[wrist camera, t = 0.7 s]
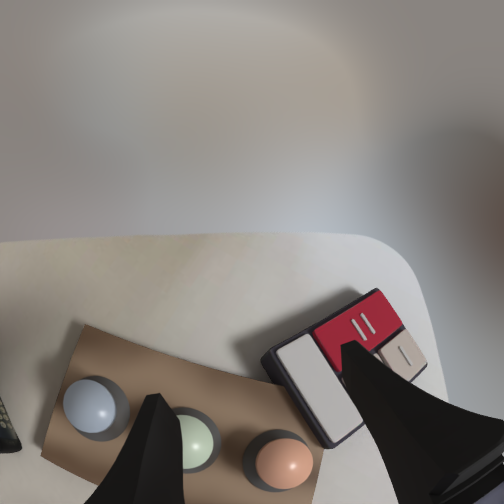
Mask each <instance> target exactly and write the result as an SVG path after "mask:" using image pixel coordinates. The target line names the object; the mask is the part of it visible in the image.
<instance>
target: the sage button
mask: <svg viewBox="0 0 504 504" xmlns="http://www.w3.org/2000/svg"><path fill="white" fill-rule="evenodd" d="M177 417H178V418H179V420H180V425H181V432H182V440H183V469H190V468H195V467H198V466H200V465H201V464H203V463H204V462H205V461H206V460H207V459H208V458H209V457H210V455H211V453H212V450H213V438H212V435H211V432H210V430H209V429H208V427H207V426H206V425H205V424H204V423H203V422H202V421H200V420H198V419H197V418H194V417H192V416H188V415H177Z"/></svg>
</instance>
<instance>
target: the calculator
mask: <svg viewBox="0 0 504 504" xmlns="http://www.w3.org/2000/svg"><path fill="white" fill-rule="evenodd" d="M352 340H357V341H358V342H359V343H360V344H361V345H363V346H364V347H365V348H366V349H367V350H368V351H369V352H370V353H372V354H373V355H374V356H375V357H376V358H378V359H379V360H380V361H381V362H383V363H384V364H385V365H386V366H388V367H389V368H390V369H392V370H393V371H394V372H396V373H397V374H398V375H400V376H401V377H403V378H404V379H406V380H407V381H409V382H410V383H411V382H412V381H413V380H414V379H415V378H416V377H417V376H418V375H419V374H420V373H421V372H422V371H423V370H424V369H425V368H426V367H427V360H426V358H425V357H424V355H423V354H422V352H421V350H420V349H419V347H418V346H417V344H416V343H415V341H414V339H413V338H412V336H411V335H410V333H409V332H408V330H407V329H406V328H405V327H404V325H403V324H402V321H401V320H400V318H399V317H398V315H397V314H396V312H395V311H394V309H393V308H392V306H391V305H390V303H389V302H388V300H387V299H386V297H385V296H384V295H383V293H382V292H381V291H380V290H379V289H378V288H375V289H373V290H371V291H370V292H368V293H366V294H365V295H363V296H362V297H360V298H358V299H357V300H355V301H353V302H352V303H350V304H348V305H347V306H345V307H343V308H342V309H340V310H338V311H337V312H335V313H333V314H332V315H330V316H328V317H326V318H325V319H323V320H321V321H320V322H318V323H316V324H314V325H312V326H311V327H309V328H307V329H305V330H304V331H302V332H300V333H298V334H296V335H294V336H293V337H291V338H289V339H287V340H285V341H283V342H281V343H280V344H278V345H276V346H274V347H272V348H271V349H270V350H269V351H268V352H267V353H266V354H265V355H264V356H263V357H262V358H261V363H262V365H263V367H264V369H265V370H266V372H267V374H268V375H269V377H270V379H271V380H272V382H273V384H275V385H280V386H284V387H285V389H286V391H287V392H288V394H289V395H290V397H291V399H292V400H293V402H294V404H295V405H296V407H297V408H298V410H299V412H300V413H301V415H302V416H303V418H304V419H305V421H306V423H307V424H308V426H309V427H310V429H311V430H312V432H313V434H314V435H315V437H316V438H317V440H318V441H319V443H320V444H321V446H322V447H323V448H324V449H333V448H335V447H336V446H338V445H339V444H340V443H342V442H343V441H344V440H346V439H347V438H348V437H350V436H351V435H352V434H353V433H355V432H356V431H357V430H358V429H360V428H361V427H362V426H363V425H365V423H364V421H363V419H362V417H361V416H360V414H359V412H358V410H357V408H356V407H355V405H354V403H353V401H352V399H351V397H350V395H349V393H348V390H347V388H346V385H345V383H344V380H343V378H342V363H341V346H340V345H341V344H344V343H347V342H350V341H352Z"/></svg>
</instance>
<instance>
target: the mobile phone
mask: <svg viewBox="0 0 504 504" xmlns="http://www.w3.org/2000/svg"><path fill="white" fill-rule="evenodd" d="M21 449H22V446H21V442H20V440H19V438H18V436H17V434H16V432H15V430H14V428H13V426H12V424H11V421H10V419H9V417H8V414H7V412H6V410H5V407H4V405H3V402H2V400H1V397H0V453H14V452H18V451H20V450H21Z"/></svg>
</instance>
